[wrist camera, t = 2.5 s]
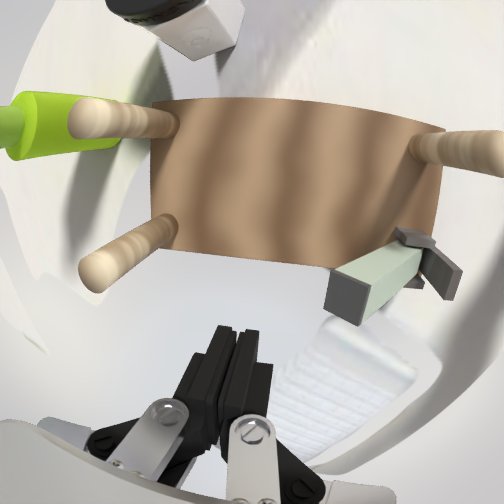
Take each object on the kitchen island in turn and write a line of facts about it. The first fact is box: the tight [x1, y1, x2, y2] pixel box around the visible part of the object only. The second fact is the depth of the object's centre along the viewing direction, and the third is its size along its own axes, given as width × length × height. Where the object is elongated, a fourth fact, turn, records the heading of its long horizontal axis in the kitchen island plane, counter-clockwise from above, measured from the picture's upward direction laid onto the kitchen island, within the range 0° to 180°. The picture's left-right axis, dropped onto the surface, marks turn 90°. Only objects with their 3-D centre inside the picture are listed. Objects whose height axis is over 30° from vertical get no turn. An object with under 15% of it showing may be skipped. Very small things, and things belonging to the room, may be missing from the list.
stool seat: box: [67, 97, 504, 301], centre depth 19 cm, size 28×15×14 cm, turn 87°
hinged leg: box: [323, 239, 424, 327], centre depth 19 cm, size 12×3×3 cm
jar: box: [105, 0, 245, 61], centre depth 15 cm, size 9×8×12 cm
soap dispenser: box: [0, 91, 122, 161], centre depth 17 cm, size 6×7×20 cm
